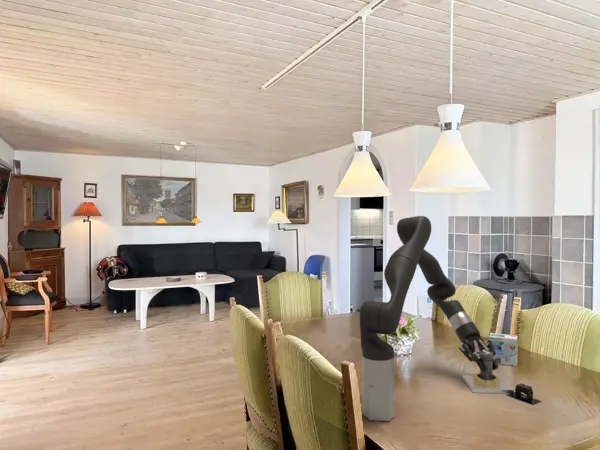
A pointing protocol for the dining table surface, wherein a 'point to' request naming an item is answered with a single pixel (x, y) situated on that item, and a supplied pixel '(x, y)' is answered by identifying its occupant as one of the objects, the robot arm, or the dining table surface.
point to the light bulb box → (505, 348)
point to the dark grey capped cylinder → (487, 364)
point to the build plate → (525, 398)
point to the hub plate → (487, 384)
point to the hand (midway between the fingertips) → (490, 369)
